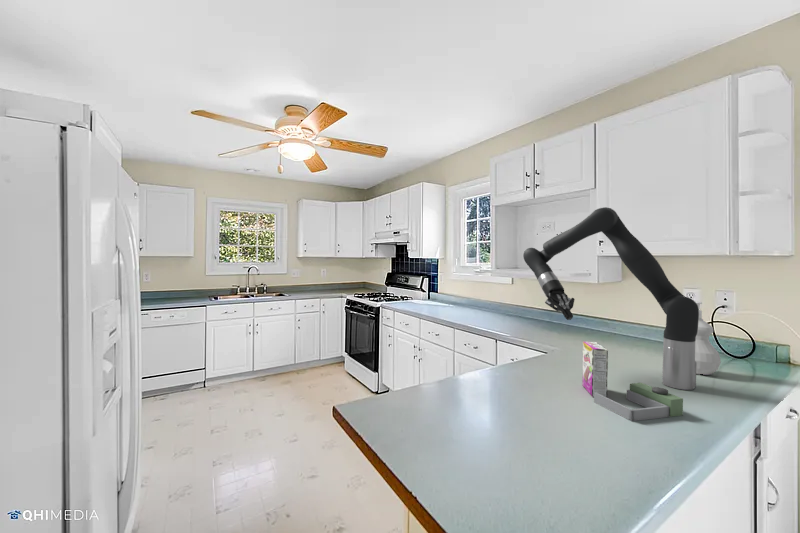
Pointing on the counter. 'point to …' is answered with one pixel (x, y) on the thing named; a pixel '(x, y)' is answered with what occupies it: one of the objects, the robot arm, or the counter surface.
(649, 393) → the frame with green block
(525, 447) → the counter surface
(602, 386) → the candy bar box
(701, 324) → the soap bottle
